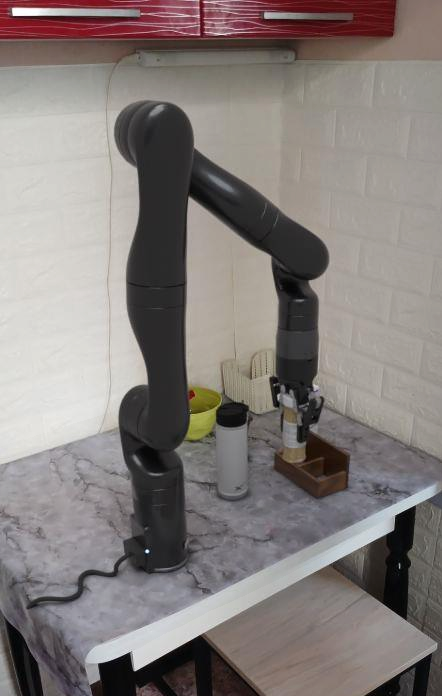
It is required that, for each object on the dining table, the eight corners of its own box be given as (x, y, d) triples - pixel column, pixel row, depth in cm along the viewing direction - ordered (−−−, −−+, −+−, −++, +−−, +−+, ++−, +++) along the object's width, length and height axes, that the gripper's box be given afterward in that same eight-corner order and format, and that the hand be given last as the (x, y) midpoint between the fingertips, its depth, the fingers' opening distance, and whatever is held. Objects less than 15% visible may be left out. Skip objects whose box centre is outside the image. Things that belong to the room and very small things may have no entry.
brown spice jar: (295, 450, 147) (297, 386, 140) (310, 459, 144) (313, 394, 137) (276, 457, 145) (277, 392, 138) (292, 466, 142) (294, 400, 135)
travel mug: (246, 502, 156) (245, 413, 145) (215, 499, 157) (212, 411, 147) (251, 486, 161) (251, 400, 151) (221, 484, 162) (218, 398, 152)
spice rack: (317, 499, 156) (318, 465, 152) (273, 468, 167) (274, 436, 163) (347, 487, 159) (350, 454, 155) (303, 458, 171) (304, 426, 167)
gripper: (256, 342, 137) (256, 427, 146) (304, 367, 126) (301, 457, 135) (290, 334, 140) (287, 418, 149) (339, 357, 130) (334, 446, 138)
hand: (294, 436), depth 142 cm, fingers closed on brown spice jar, 4 cm apart
